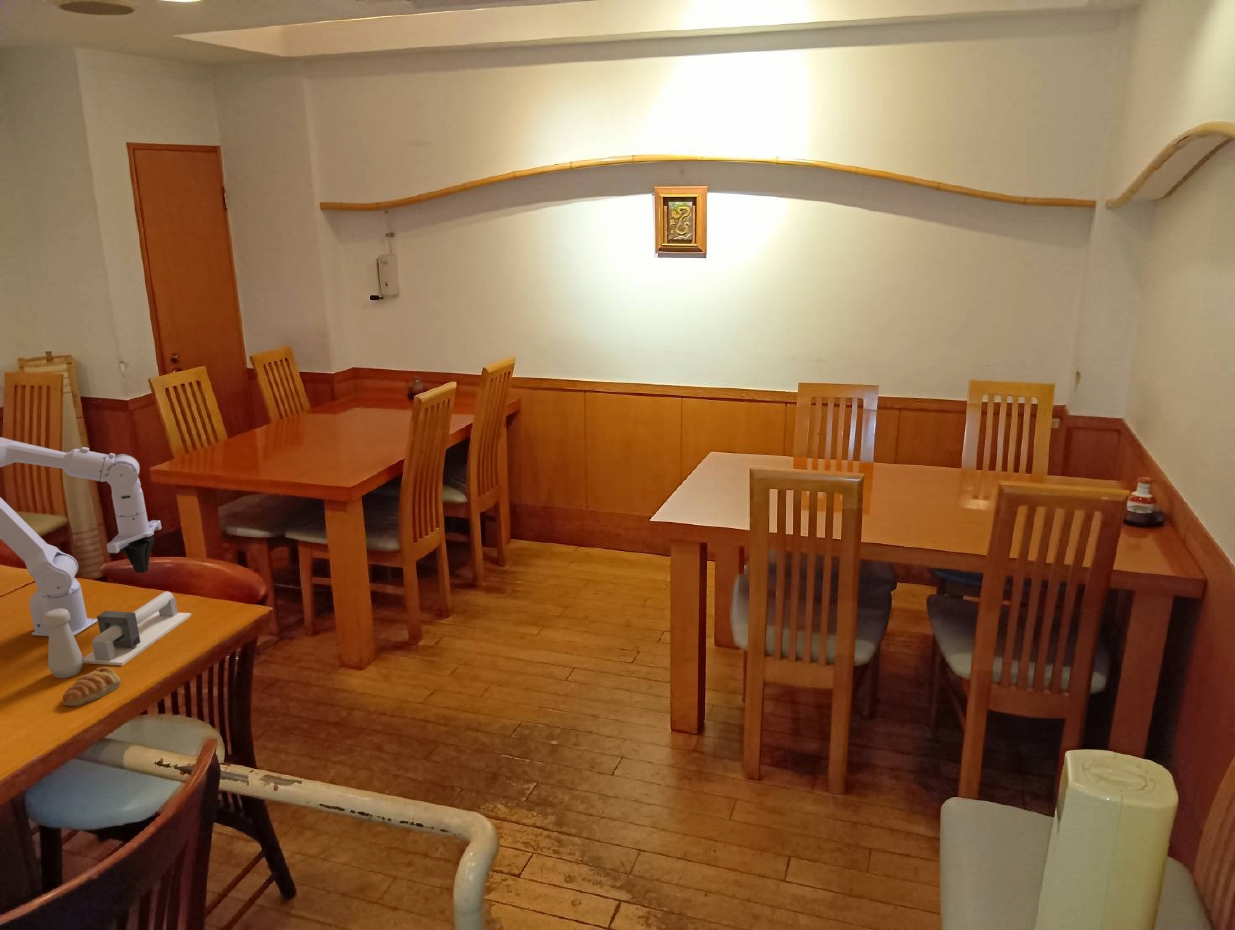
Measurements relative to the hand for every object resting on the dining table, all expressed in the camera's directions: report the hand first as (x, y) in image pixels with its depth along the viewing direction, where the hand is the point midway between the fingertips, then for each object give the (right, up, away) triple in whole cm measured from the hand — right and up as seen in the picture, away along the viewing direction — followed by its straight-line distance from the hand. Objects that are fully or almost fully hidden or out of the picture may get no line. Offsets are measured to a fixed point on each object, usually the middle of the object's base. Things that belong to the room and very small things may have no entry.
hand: (141, 571), depth 188 cm
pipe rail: (+3, -13, -7) cm, 15 cm away
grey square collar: (+3, -13, -12) cm, 18 cm away
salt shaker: (-3, -17, -21) cm, 27 cm away
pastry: (+7, -19, -28) cm, 35 cm away
